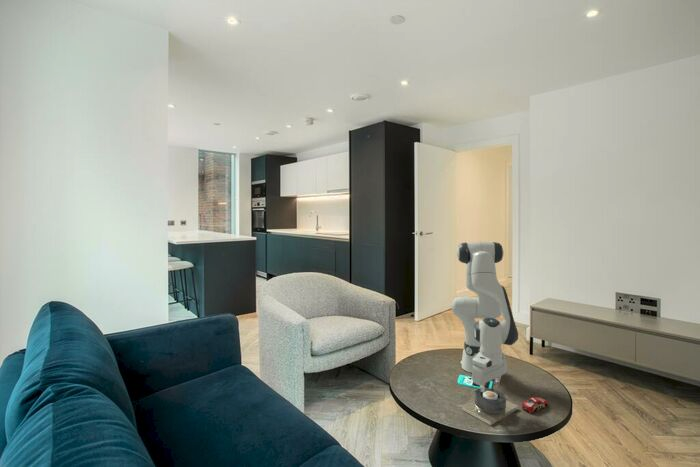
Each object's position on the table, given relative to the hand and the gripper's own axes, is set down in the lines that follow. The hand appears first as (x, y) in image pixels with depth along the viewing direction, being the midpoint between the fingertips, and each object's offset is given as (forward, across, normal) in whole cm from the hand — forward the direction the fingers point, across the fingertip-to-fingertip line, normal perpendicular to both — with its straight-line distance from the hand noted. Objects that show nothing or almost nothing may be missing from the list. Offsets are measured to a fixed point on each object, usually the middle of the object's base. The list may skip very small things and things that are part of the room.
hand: (490, 388), depth 152 cm
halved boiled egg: (+7, 0, 0) cm, 7 cm away
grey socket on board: (+9, 0, 0) cm, 9 cm away
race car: (+10, -17, +10) cm, 23 cm away
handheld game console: (+10, -15, -18) cm, 26 cm away
